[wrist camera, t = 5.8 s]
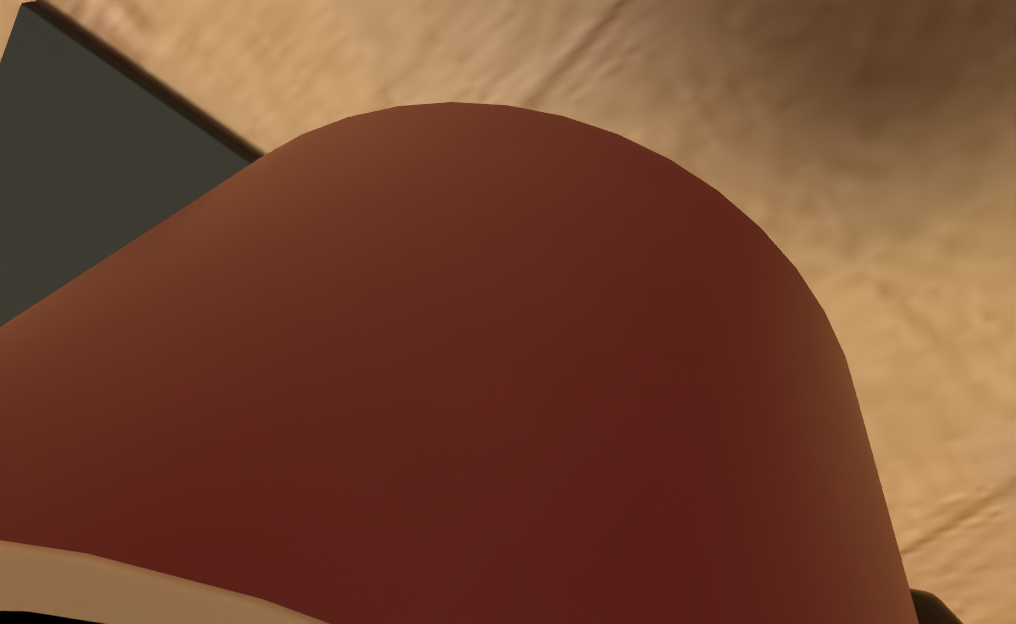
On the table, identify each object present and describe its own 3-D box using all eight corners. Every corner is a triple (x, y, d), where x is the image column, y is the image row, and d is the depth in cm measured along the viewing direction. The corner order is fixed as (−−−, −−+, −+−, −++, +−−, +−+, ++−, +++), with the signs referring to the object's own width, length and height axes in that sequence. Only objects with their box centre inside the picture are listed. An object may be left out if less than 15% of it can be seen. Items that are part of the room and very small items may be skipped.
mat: (719, 480, 21) (719, 490, 21) (446, 742, 27) (443, 754, 26) (32, 0, 20) (20, 2, 19) (-105, 383, 25) (-117, 391, 25)
